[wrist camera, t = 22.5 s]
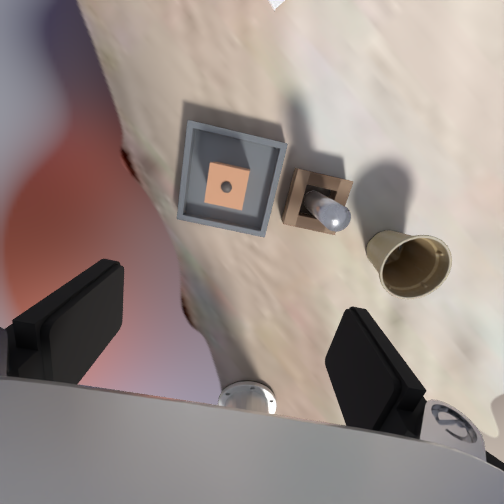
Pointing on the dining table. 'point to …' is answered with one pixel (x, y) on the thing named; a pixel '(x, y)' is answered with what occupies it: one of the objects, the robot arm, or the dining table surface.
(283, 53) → the dining table surface
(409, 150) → the dining table surface
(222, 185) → the orange block with knob
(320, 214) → the steel pin
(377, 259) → the flower pot
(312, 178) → the walnut bore block
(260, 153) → the grey square tray
